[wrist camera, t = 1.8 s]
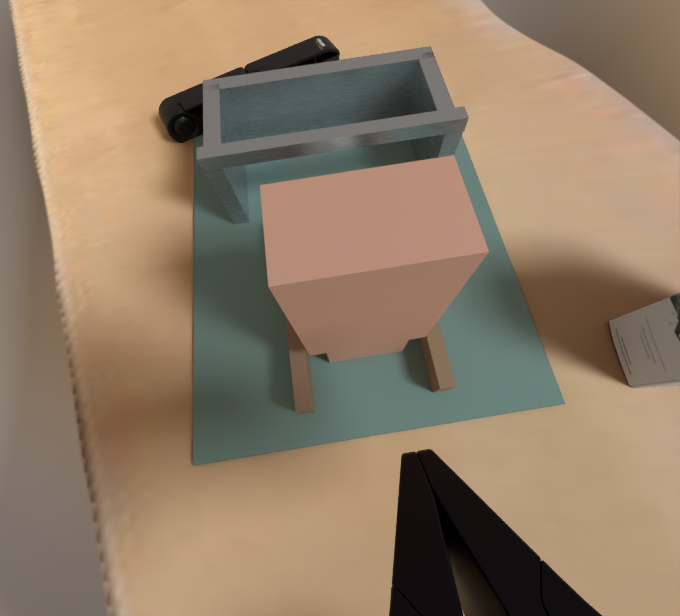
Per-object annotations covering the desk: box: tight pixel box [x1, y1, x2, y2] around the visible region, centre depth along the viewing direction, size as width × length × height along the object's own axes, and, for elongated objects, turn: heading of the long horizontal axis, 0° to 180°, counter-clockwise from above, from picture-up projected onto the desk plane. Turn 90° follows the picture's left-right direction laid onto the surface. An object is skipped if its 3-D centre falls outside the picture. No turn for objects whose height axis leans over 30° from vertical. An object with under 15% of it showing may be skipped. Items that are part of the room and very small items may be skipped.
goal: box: [197, 46, 469, 225], centre depth 25 cm, size 9×17×7 cm, turn 99°
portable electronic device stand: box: [159, 36, 340, 143], centre depth 31 cm, size 18×3×3 cm, turn 120°
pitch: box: [193, 136, 565, 465], centre depth 25 cm, size 28×24×2 cm
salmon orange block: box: [260, 155, 489, 363], centre depth 17 cm, size 4×7×13 cm, turn 99°
